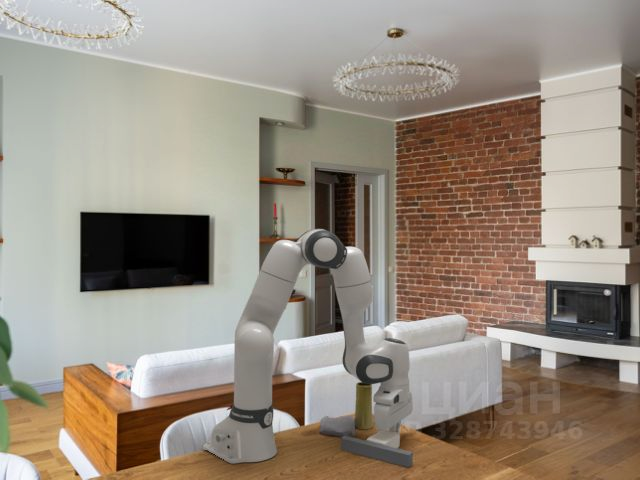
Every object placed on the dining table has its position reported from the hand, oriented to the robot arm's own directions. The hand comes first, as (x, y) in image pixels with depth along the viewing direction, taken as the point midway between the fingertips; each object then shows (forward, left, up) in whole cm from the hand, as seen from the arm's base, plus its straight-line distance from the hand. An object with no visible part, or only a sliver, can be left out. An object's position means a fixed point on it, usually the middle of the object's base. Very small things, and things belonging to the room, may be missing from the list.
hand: (394, 436), depth 169 cm
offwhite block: (-1, -6, -2) cm, 7 cm away
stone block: (-20, -1, -3) cm, 20 cm away
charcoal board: (0, -13, -2) cm, 13 cm away
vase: (-15, +7, -3) cm, 17 cm away
